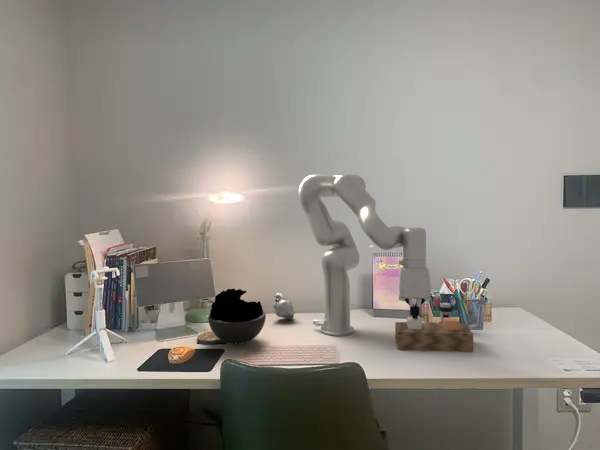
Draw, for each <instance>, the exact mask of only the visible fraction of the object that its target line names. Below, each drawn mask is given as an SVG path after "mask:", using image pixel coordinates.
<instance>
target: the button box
mask: <svg viewBox="0 0 600 450" xmlns="http://www.w3.org/2000/svg"><path fill="white" fill-rule="evenodd" d="M394 325H395V326H394V327H395V330H394V331H395V332H394V334H395V335H394V337H395V338H394V339H395V343H396V349H397V350H398V351H420V352H421V351H426V352H431V351H432V352H454V353H455V352H456V353H457V352H459V353H474V333H473V331H472V330H471V328H470V327H469V326H468V325H467V324H466V323H460V322H459V330H444V329H443V323H439V322H422V330H419V329H407V321H396V322H394Z"/></svg>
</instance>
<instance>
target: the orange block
mask: <svg viewBox="0 0 600 450" xmlns="http://www.w3.org/2000/svg"><path fill="white" fill-rule="evenodd" d="M459 321H460V320H458V318H457V317H451V318H449V317H448V318H443V329H444V330H459V323H460V322H459Z"/></svg>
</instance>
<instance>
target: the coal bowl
mask: <svg viewBox="0 0 600 450" xmlns="http://www.w3.org/2000/svg"><path fill="white" fill-rule="evenodd" d="M246 293H247V290H242V289H241V288H238V289H235V288H228V289H226V290H222V291H221V292H220V293H217V294H216V295H215V296H214V302H213V303H211V304H210V305H211V307H210V312H209V315H208V317H207V321H208V325H209V327H210V330H211V331H212V333H213V334H214V336H215V337H217V338H218V339H219V340H221V341H222V342H224V343H226V344H230V345H242V344H243V345H244V344H246V343H249V342H250V341H252V340H254V339H255V338H256V337H257V336H258V335H259V334H260V333H261V332H262V330H263V328H264V325H265V322H266V317H267V314H266V312H265V311H264V310H263V309H264V308H263V305H262V303H261V301H245V300H244V299H241V298H242V295H245V294H246Z"/></svg>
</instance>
